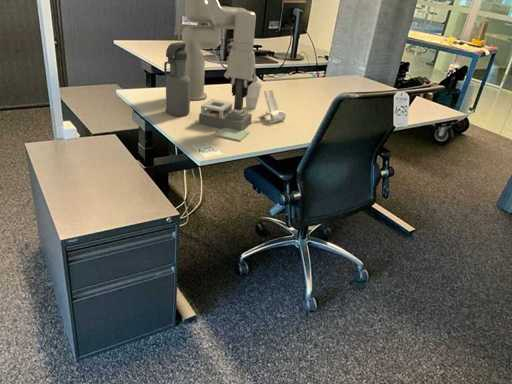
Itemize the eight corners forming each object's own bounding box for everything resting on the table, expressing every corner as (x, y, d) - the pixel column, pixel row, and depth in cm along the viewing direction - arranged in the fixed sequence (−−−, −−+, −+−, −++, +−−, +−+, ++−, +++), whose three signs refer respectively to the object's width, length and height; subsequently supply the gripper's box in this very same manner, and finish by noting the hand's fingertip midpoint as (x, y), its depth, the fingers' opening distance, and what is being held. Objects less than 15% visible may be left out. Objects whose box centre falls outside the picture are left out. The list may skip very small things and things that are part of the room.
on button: (231, 113, 167) (232, 108, 166) (235, 111, 170) (235, 106, 169) (240, 115, 166) (240, 110, 165) (243, 112, 169) (243, 108, 168)
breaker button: (210, 121, 171) (210, 114, 170) (213, 118, 174) (214, 111, 173) (218, 123, 170) (219, 116, 169) (222, 120, 174) (222, 113, 172)
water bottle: (178, 118, 172) (179, 47, 158) (160, 112, 176) (159, 42, 162) (194, 113, 179) (196, 44, 166) (176, 107, 184) (177, 40, 170)
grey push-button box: (198, 123, 169) (199, 105, 165) (210, 115, 179) (211, 98, 175) (241, 132, 164) (242, 114, 161) (250, 123, 175) (252, 106, 171)
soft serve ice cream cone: (248, 103, 199) (251, 69, 192) (263, 107, 196) (267, 73, 188) (238, 107, 193) (241, 72, 185) (254, 111, 189) (257, 75, 182)
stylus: (232, 108, 166) (234, 78, 160) (235, 106, 169) (238, 76, 163) (240, 110, 165) (243, 79, 159) (243, 108, 168) (246, 78, 162)
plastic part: (273, 124, 177) (276, 97, 171) (256, 117, 183) (259, 91, 177) (284, 121, 182) (288, 95, 176) (268, 114, 188) (271, 88, 182)
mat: (215, 136, 158) (215, 134, 158) (225, 128, 167) (225, 126, 167) (240, 141, 156) (240, 139, 156) (249, 133, 165) (249, 131, 164)
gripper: (218, 45, 155) (216, 94, 163) (261, 51, 151) (256, 101, 159) (226, 42, 161) (223, 90, 170) (267, 48, 157) (262, 97, 166)
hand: (239, 95), depth 164 cm, fingers closed on stylus, 3 cm apart
